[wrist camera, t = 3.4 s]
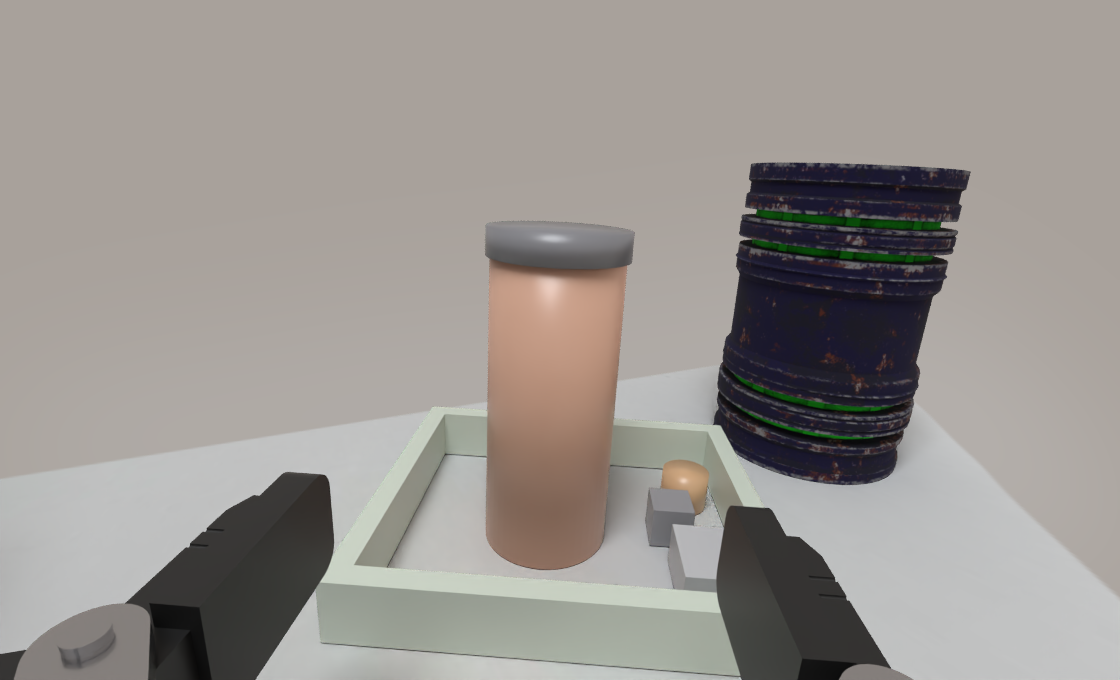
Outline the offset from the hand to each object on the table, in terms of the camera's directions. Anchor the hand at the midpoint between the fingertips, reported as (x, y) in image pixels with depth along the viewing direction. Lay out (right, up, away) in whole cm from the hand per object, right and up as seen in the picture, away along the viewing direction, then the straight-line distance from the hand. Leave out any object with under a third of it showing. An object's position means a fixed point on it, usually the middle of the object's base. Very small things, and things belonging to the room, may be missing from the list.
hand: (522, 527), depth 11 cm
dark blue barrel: (+15, -2, +20) cm, 25 cm away
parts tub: (+1, -4, +11) cm, 12 cm away
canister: (0, -4, +11) cm, 12 cm away
